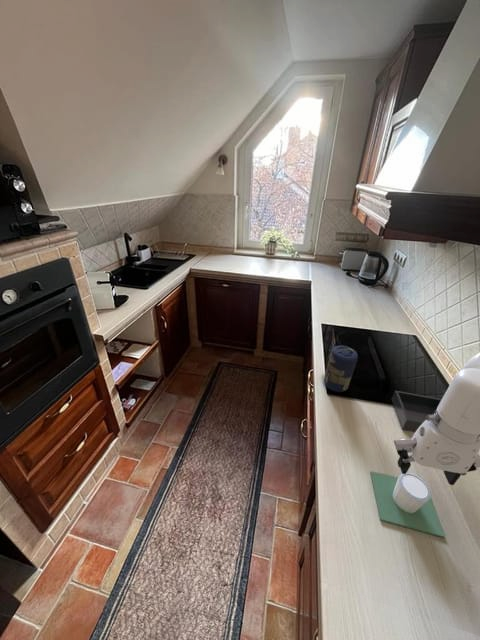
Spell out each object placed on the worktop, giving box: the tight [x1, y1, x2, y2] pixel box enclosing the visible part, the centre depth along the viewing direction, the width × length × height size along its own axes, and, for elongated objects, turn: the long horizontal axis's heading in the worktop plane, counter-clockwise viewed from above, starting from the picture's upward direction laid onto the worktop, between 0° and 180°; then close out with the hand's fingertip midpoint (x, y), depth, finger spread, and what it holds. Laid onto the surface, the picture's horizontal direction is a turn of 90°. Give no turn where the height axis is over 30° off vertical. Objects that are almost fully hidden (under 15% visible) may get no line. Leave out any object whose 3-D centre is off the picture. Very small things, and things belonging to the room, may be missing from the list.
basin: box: [390, 390, 442, 433], centre depth 88 cm, size 16×14×5 cm
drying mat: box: [370, 471, 446, 539], centre depth 66 cm, size 14×12×1 cm
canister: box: [323, 345, 359, 393], centre depth 98 cm, size 10×10×18 cm
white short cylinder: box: [393, 471, 432, 513], centre depth 64 cm, size 7×7×7 cm
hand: (424, 473), depth 59 cm, fingers open, 9 cm apart
